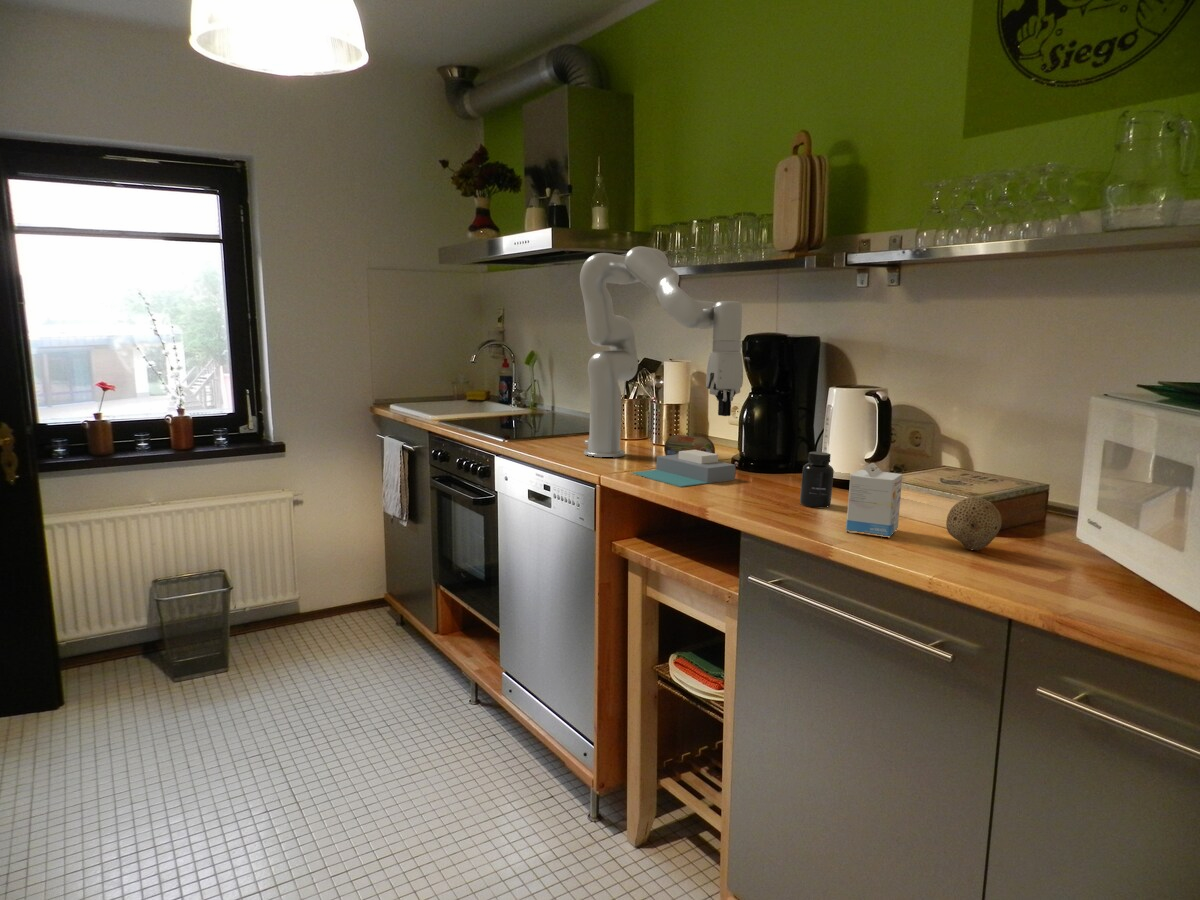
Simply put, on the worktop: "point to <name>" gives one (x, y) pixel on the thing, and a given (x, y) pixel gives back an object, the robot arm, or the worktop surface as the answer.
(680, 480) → the mat
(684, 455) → the white rectangular block
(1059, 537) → the worktop surface
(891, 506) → the ink box
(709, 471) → the grey flat block
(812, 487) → the supplement bottle
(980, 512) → the natural sponge
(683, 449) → the tin
